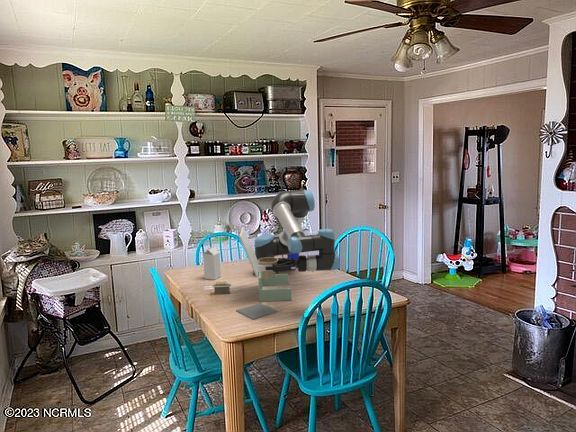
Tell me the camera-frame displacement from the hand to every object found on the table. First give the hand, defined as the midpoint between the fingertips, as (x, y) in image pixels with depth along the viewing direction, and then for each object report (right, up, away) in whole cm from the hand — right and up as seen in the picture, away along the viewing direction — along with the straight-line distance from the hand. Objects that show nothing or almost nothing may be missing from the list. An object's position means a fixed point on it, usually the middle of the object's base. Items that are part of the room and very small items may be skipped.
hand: (258, 265), depth 206 cm
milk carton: (-31, -14, +58) cm, 67 cm away
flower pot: (+5, -6, +1) cm, 8 cm away
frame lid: (-6, +5, +24) cm, 26 cm away
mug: (+16, -8, +89) cm, 90 cm away
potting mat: (-1, -22, +2) cm, 22 cm away
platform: (-21, -19, +30) cm, 41 cm away
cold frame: (+7, -17, +29) cm, 34 cm away
